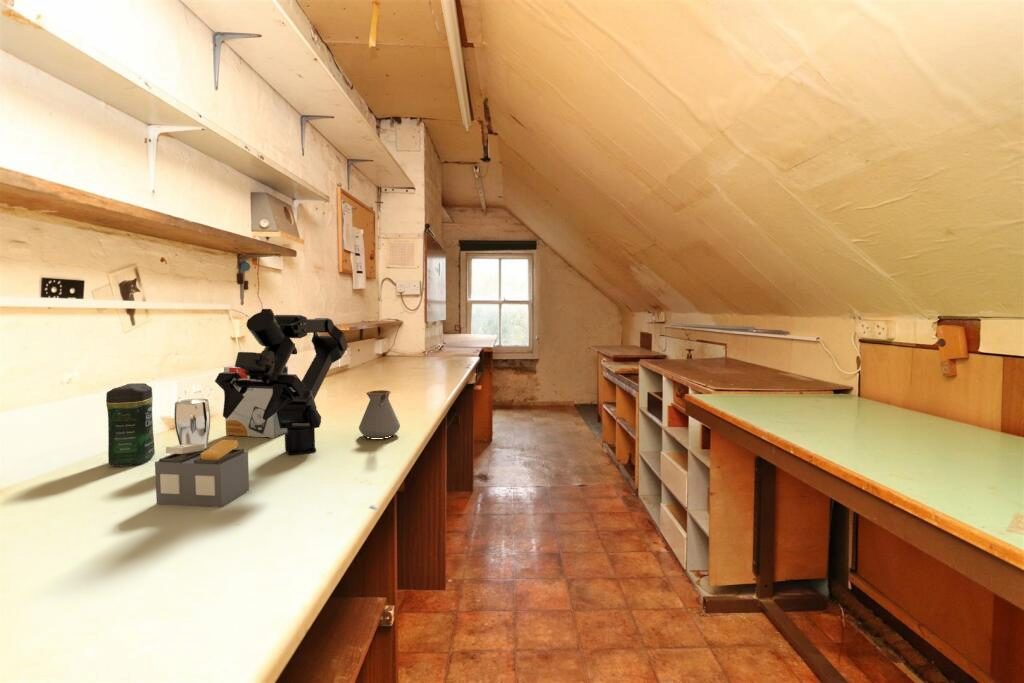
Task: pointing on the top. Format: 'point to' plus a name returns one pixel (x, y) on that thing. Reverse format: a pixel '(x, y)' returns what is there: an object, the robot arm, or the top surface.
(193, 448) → the white rocker
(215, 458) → the amber rocker
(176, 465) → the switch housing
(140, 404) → the coffee jar
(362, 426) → the coffee pot
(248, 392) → the hard drive box
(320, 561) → the top surface
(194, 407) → the beer glass
